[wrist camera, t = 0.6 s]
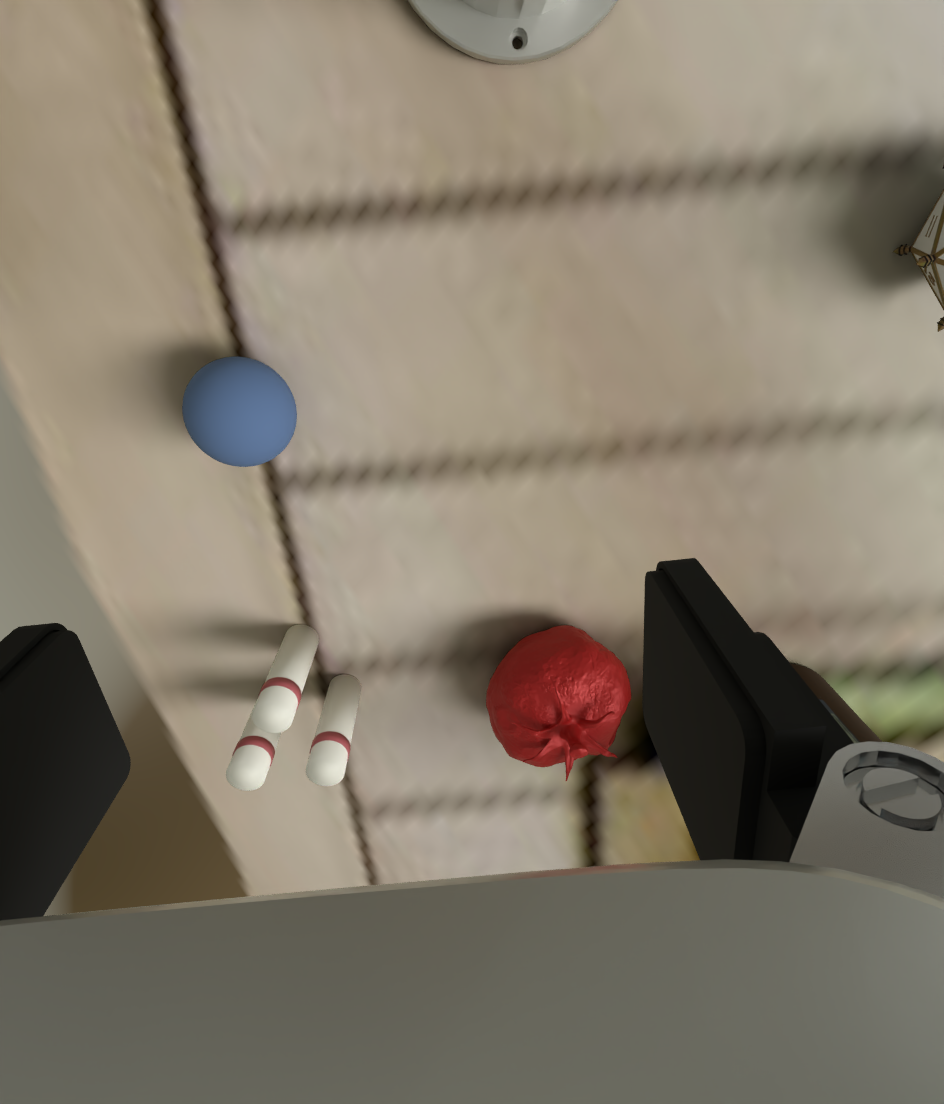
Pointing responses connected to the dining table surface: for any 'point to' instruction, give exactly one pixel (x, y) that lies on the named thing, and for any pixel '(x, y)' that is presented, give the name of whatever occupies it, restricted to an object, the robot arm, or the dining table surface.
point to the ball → (239, 411)
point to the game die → (931, 251)
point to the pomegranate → (557, 698)
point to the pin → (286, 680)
